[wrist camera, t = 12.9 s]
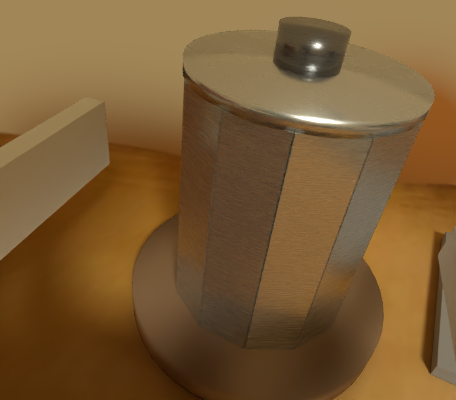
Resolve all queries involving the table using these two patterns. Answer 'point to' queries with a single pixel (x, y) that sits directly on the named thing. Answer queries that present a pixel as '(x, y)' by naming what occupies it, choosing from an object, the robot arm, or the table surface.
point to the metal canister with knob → (286, 174)
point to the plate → (244, 358)
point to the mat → (443, 337)
